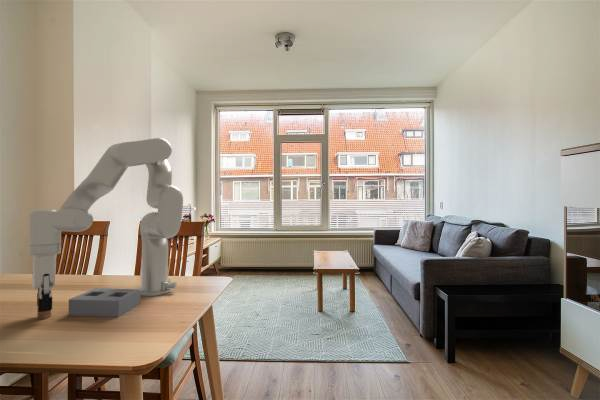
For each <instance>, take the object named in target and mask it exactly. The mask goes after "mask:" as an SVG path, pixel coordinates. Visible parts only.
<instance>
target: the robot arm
mask: <svg viewBox="0 0 600 400" xmlns="http://www.w3.org/2000/svg"><path fill="white" fill-rule="evenodd" d="M172 147H173V146H172V144H170V142H169V141H168V140H166V139H164V138H162V137H154V138H149V139H147V138H146V139H143V140H142V139H140V140H134V141H123V142H118V143H116V144H112V145H110V146H109V147H108V148H107V149H106V150H105V152H104V153H103V154H102V156H101V157H100V159H99V160H98V162H96V165H95V166H94V167H93V168H92V169H91V171H90V172H89V173H88V176H86V178H85V179H84V180H82V182H80V184H78V186H77V187H76V188H75V189H74V190H73V191H72V192H71V193H70V194H69V196H68V197H67V198H66V200H65V201H64V202H63V203H62V205H61V206H60V208H59V209H54V208H37V209H33V210H31V211H30V213H29V225H28V226H29V229H28V230H29V232H28V233H29V234H28V235H29V237H28V242H29V243H28V257H29V256H30V257H33V258H32V282H31V285H32V286H31V287H32V289H33V290H34V291H36V290H37V289H38V288H39V299H38V293H36V307H37V311H38V312H44V311H49V310H51V311H52V310H53V296H52V293H53V292H52V289H53V287H55V284H56V274H57V273H56V270H57V269H56V268H57V255H60V254H61V253H62V232H75V233H76V232H77V233H79V232H84V231H86V230H88V229H90V227H91V226H92V225H93V222H94V217H93V214H92V213H91V212H89V210H90V209H91V207H92V206H93V205H94V204H95V203H96V202H97V201H98V200H99V199H101V198H103V197H104V196H106V195H107V194H109V193H111V192H112V191H113V190H114V189H115V187H116V186H117V184H118V183H119V181H120V180H121V178H122V176H123V175H124V174H125V172H126V171H127V170H128V168H129V167H136V166H142V165H145V166H146V168H147V171H148V172H147V173H148V181H147V189H146V203H147V205H148V206H149V207H150V208H153V209H157V211H153V212H148V213H146V214H145V215H144V216H143V217H142V218H141V220H140V223H139V231H140V236H141V269H140V271H141V273H140V274H141V275H140V276H141V277H140V278H141V279H140V280H141V282H140V284H141V285H140V287H139V288H138V289H140V297H156V296H163V295H166V294H169V293H170V292H172V290H173V289H174V290H175V289H177V288H178V283H177V282H173V281H171V278H169V240H168V239H171V238H174V237H176V235H177V234H178V233H179V232H180V228H181V225H182V217H183V209H184V208H183V207H184V197H183V193H182V191H181V190H180V188H178V187H177V186H176V185H172V181H173V180H172V178H173V171H172V170H173V169H172V168H171V167H172V166H171V164H170V163H169V161H168V160H167V159H168V158H170V157H171V155H172V152H173V150H172V149H173V148H172ZM49 285H50V287H49ZM41 286H44V288H41ZM42 290H44V291H42Z"/></svg>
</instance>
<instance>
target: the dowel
mask: <svg viewBox="0 0 600 400" xmlns="http://www.w3.org/2000/svg"><path fill="white" fill-rule="evenodd" d="M49 287H50V285H49ZM41 288H44V286H41ZM42 291H44V290H42ZM37 294H38V299H39V288H37ZM36 314H37V315H36V317H37V319H38V320H45V319H48V318H51V317H52V310H49V311H44V312H38V310H37V313H36Z"/></svg>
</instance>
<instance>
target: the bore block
mask: <svg viewBox="0 0 600 400" xmlns="http://www.w3.org/2000/svg"><path fill="white" fill-rule="evenodd" d="M140 304H141V296H140V289H139V288H137V289H135V288H134V289H132V288H131V289H130V288H107V287H106V288H105V287H104V288H103V287H102V288H101V287H94V288H93V289H91V290H87V291H85V292H83V293H80V294H78V295H75V296H74V297H71V298H69V299H68V313H67V315H68V316H77V317H78V316H79V317H80V316H81V317H82V316H83V317H106V318H107V317H108V318H110V317H111V318H119V317H121V316H122V315H124V314H126V313H127V312H129V311H130V310H132V309H134V308H135V307H136V306H137V307H138V306H139V305H140Z"/></svg>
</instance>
